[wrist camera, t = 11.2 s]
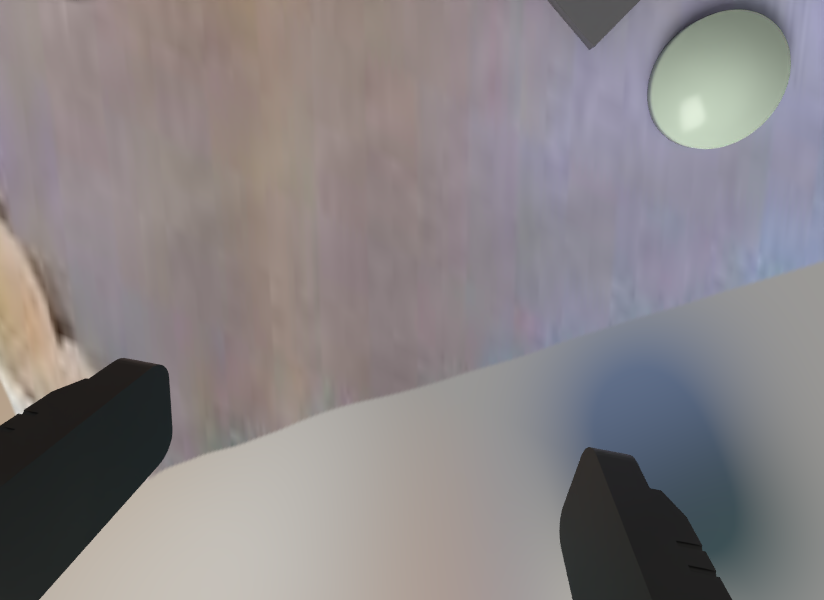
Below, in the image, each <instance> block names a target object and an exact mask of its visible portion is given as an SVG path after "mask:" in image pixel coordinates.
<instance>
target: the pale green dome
mask: <svg viewBox="0 0 824 600" xmlns="http://www.w3.org/2000/svg"><path fill="white" fill-rule="evenodd" d="M790 67H791V60H790V51H789V47H788V44H787V41H786V38H785V37H784V35H783V33H782V31H781V30H780V29H779V27H778V26H777V25H776V24H775V23H774V22H773V21H771V20H770V19H769V18H767V17H765V16H764V15H762V14H759V13H757V12H753V11H749V10H739V9H737V10H727V11H722V12H718V13H715V14H712V15H709V16H707V17H705V18H702V19H700V20H698V21H696V22H694V23H692V24H691V25H689V26H687V27H686V28H684V29H683V30H682V31H681V32H679V33H678V34H677V35H676V36H675V37H674V38H673V39H672V40H671V41H670V42H669V43H668V44H667V46H666V47H665V48H664V49H663V51H662V52H661V54H660V55H659V57H658V59H657V61H656V63H655V65H654V67H653V70H652V72H651V75H650V79H649V84H648V91H647V100H648V108H649V112H650V115H651V118H652V120H653V122H654V124H655V125H656V127H657V128H658V130H659V131H660V132H661V133H662V134H663V135H664V136H665V137H666V138H668V139H669V140H671V141H673V142H674V143H677V144H679V145H682V146H686V147H690V148H699V149H713V148H719V147H724V146H727V145H730V144H733V143H735V142H738V141H740V140H741V139H743V138H745V137H747V136H748V135H750V134H751V133H753V132H754V131H755V130H757V129H758V128H759V127H760V126H761V125H762V124H763V123H764V122H765V121H766V120H767V119H768V118H769V117H770V116H771V114H772V113H773V112H774V110H775V109H776V107H777V106H778V104H779V103H780V101H781V99H782V97H783V95H784V93H785V90H786V87H787V84H788V80H789V76H790Z"/></svg>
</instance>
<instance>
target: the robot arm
mask: <svg viewBox="0 0 824 600" xmlns="http://www.w3.org/2000/svg"><path fill="white" fill-rule="evenodd" d="M171 439H172V415H171V400H170V385H169V374H168V371H167V369H166V368H165V367H164V366H163V365H159V364H153V363H148V362H143V361H138V360H132V359H127V358H120V359H117V360H116V361H114V362H112V363H111V364H110V365H108V366H107V367H105V368H104V369H102V370H101V371H99V372H98V373H96V374H95V375H94V376H92V377H91V378H89V379H83V380H80V381H78V382H75V383H73V384H70V385H68V386H65V387H63V388H60V389H57V390H55V391H52V392H51V393H49V394H48V395H46V396H45V397H43V398H42V399H40V400H38V401H37V402H35V403H34V404H32V405H31V406H29V407H28V408H26V409H25V410H24V412H23V414H17V415H16V416H14V417H13V418H11V419H10V420H8V421H7V422H5V423H4V424H2V425H0V600H39V599H40V598H41V597H42V596H43V595H44V594H45V592H46V591H47V590H48V589H49V588H50V587H51V586H52V585H53V583H54V582H55V581H56V580H57V579H58V578H59V577H60V576H61V574H62V573H63V572H64V571H65V570H66V569H67V568H68V567H69V565H70V564H71V563H72V562H73V561H74V560H75V559H76V558H77V556H78V555H79V554H80V553H81V552H82V551H83V550H84V549H85V547H86V546H87V545H88V544H89V543H90V542H91V541H92V540H93V538H94V537H95V536H96V535H97V534H98V533H99V532H100V531H101V529H102V528H103V527H104V526H105V525H106V524H107V523H108V522H109V520H110V519H111V518H112V517H113V516H114V515H115V514H116V512H117V511H118V510H119V509H120V508H121V507H122V506H123V505H124V504H125V502H126V501H127V500H128V499H129V498H130V497H131V496H132V494H133V493H134V492H135V491H136V490H137V489H138V488H139V487H140V486H141V485H142V483H143V482H144V481H145V480H146V479H147V478H148V477H149V476H150V474H151V473H152V472H153V471H154V470H155V469H156V468H157V467H158V465H159V464H160V463H161V462H162V460H163V459H164V457H165V455H166V453H167V451H168V449H169V446H170V443H171ZM560 543H561V549H562V553H563V558H564V563H565V567H566V572H567V576H568V581H569V585H570V590H571V594H572V599H573V600H732V599H731V597H730V595H729V593H728V592H727V590H726V588H725V586H724V584H723V582H722V581H721V579H720V577H716V570H715V568H714V566H713V564H712V563H711V561H710V559H709V557H708V555H707V553H706V552H705V551H702V544H701V543H700V541H699V539H698V537H697V535H696V533H695V532H694V530H693V528H692V526H691V524H690V523H689V521H688V519H687V517H686V516H685V515H684V514H683V513H682V512H681V511H680V510H679V509H678V508H677V507H676V506H675V505H674V504H673V502H672V501H671V500H670V499H669V498H668V497H667V496H666V495H665V494H664V493H663V492H662V491H661V490H656V489H651V488H649V486H648V484H647V482H646V480H645V478H644V476H643V474H642V472H641V470H640V468H639V466H638V463H637V462H636V460H635V458H634V457H633V456H631V455H627V454H622V453H617V452H611V451H606V450H601V449H596V448H591V447H588V448H586V449H585V450H584V452H583V454H582V456H581V458H580V461H579V464H578V467H577V469H576V472H575V475H574V478H573V481H572V484H571V486H570V489H569V492H568V494H567V497H566V500H565V503H564V506H563V509H562V513H561V518H560Z"/></svg>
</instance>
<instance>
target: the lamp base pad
mask: <svg viewBox="0 0 824 600" xmlns="http://www.w3.org/2000/svg"><path fill="white" fill-rule="evenodd" d="M548 1H549V3H550V4H551V5H552V6H553V7H554V9H555V10H556V11H557V12H558V13H559V14H560V16H561V17H562V18H563V19H564V20H565V22H566V23H567V24H568V25H569V26H570V27H571V29H572V30H573V31H574V32H575V33H576V35H577V36H578V37H579V38H580V39H581V41H582V42H583V43H584V44H585V45H586V46H587V48H588V49H589V50H590V49H591V48H593V47H594V46H595V45H596V44H597V43H598V42H599V41H600V40H601V39H602V38H603V37H604V36H605V35H606V34H607V33H608V32H609V31H610V30H611V29H612V28H613V27H614V26H615V25H616V24H617V23H618V22H619V21H620V20H621V19H622V18H623V17H624V16H625V15H626V14H627V13H628V12H629V11H630V10H631V9H632V8H633V7H634V6H635V5H636V4H637V3H638V2H639V1H640V0H548Z"/></svg>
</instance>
